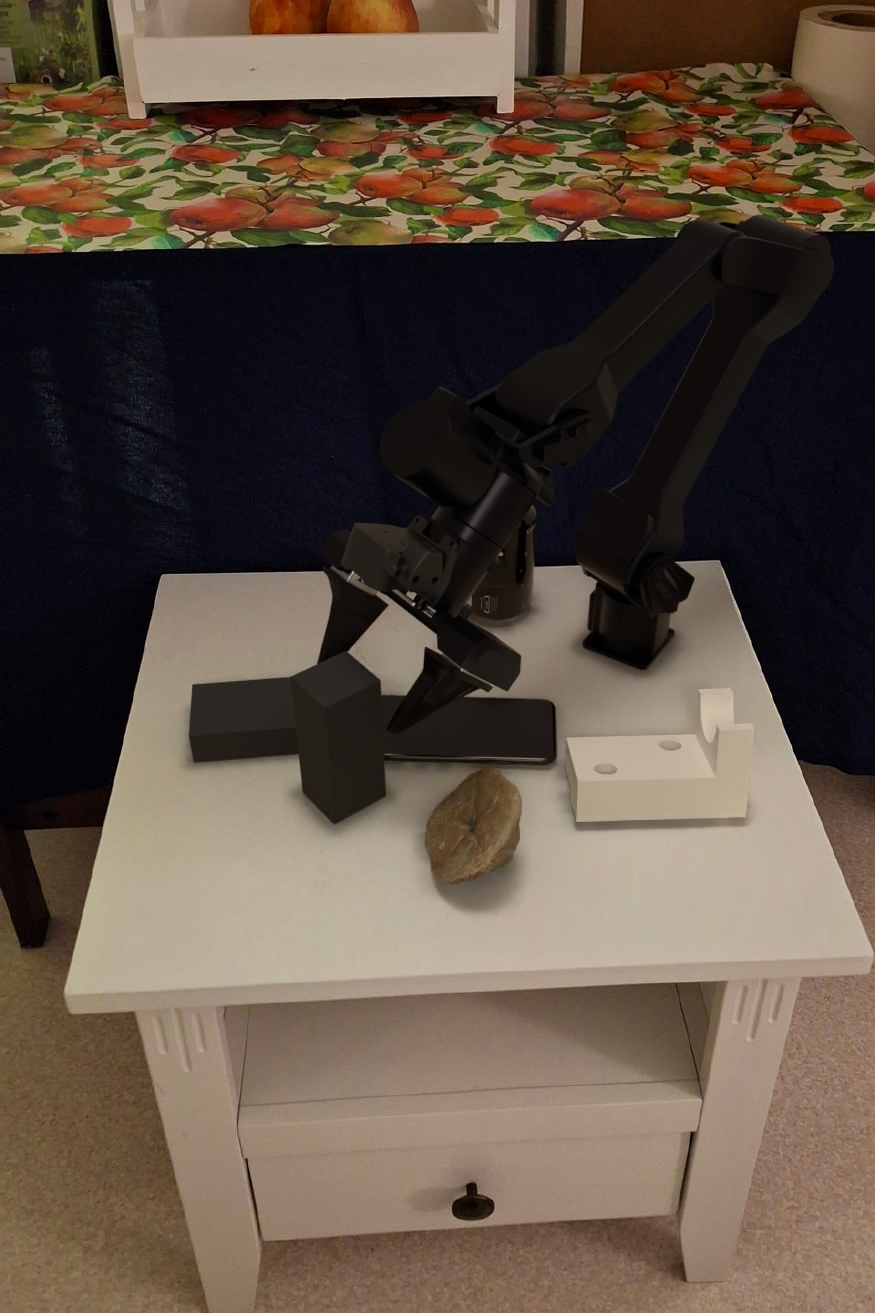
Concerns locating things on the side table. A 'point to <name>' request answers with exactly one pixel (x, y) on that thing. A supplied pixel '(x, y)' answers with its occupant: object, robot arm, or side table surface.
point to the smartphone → (476, 732)
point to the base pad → (242, 719)
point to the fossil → (474, 827)
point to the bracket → (665, 769)
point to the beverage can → (509, 576)
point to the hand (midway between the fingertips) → (355, 700)
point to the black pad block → (339, 735)
